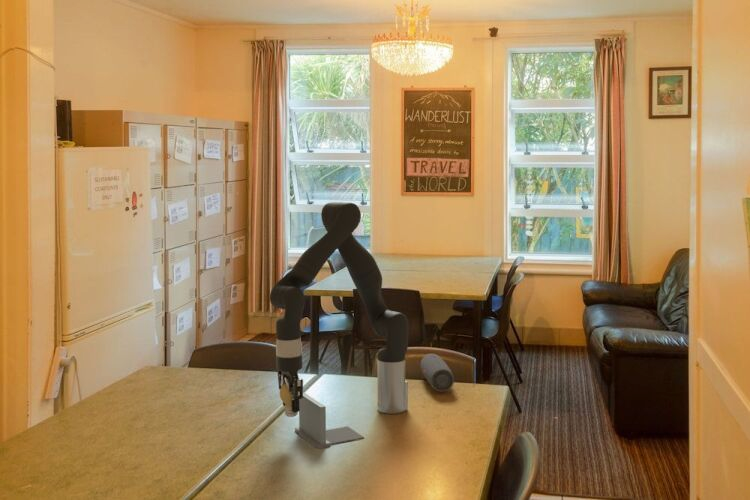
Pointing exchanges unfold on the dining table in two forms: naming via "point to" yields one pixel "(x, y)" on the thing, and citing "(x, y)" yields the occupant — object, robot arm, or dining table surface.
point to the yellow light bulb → (287, 401)
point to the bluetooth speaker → (437, 372)
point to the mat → (342, 435)
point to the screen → (312, 421)
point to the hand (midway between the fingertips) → (291, 408)
